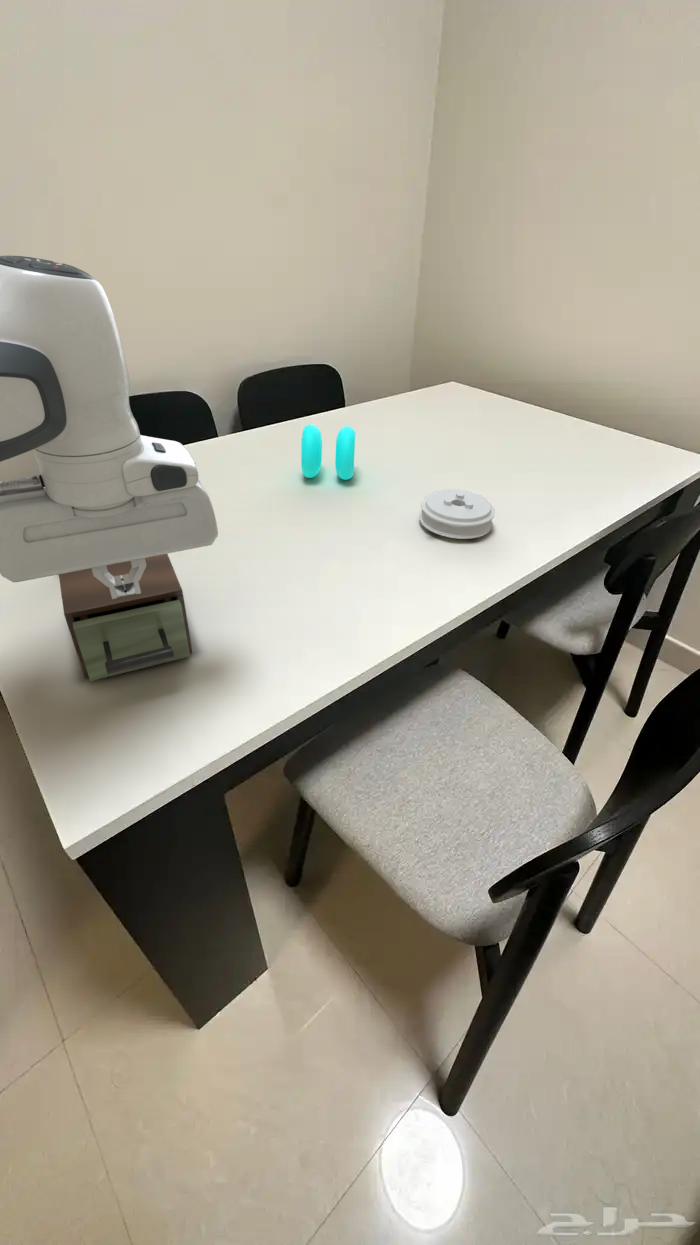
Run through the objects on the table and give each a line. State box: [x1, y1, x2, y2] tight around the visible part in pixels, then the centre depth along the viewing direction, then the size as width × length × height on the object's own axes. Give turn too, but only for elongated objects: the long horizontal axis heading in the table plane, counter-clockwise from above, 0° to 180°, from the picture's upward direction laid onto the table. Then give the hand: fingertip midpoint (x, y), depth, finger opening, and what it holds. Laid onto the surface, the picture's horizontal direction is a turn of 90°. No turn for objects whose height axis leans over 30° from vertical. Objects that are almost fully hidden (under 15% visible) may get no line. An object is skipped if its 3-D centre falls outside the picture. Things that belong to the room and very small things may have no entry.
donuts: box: [300, 423, 356, 481], centre depth 112 cm, size 10×10×10 cm
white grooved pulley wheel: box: [419, 488, 496, 540], centre depth 100 cm, size 13×13×5 cm
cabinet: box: [58, 553, 193, 680], centre depth 73 cm, size 15×13×10 cm
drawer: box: [73, 598, 191, 682], centre depth 69 cm, size 18×11×8 cm, turn 25°
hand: (126, 593), depth 61 cm, fingers closed
